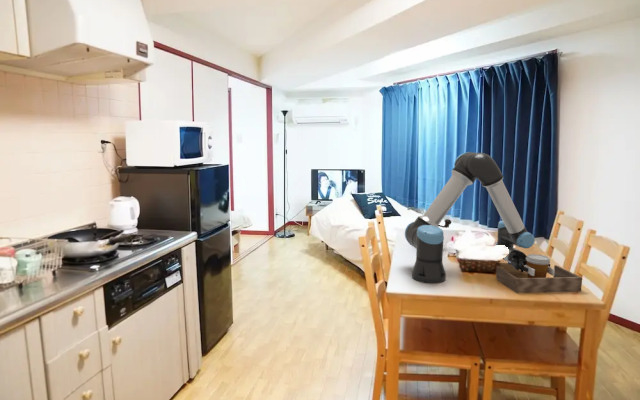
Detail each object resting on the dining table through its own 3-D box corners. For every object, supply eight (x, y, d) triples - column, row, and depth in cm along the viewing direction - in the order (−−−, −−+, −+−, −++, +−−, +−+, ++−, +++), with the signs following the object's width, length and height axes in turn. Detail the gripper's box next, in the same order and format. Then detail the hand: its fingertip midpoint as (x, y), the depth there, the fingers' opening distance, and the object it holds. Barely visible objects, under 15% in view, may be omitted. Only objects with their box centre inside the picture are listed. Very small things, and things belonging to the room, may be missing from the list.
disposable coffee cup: (518, 281, 181) (520, 255, 180) (534, 278, 185) (536, 253, 183) (537, 288, 173) (540, 261, 171) (553, 285, 177) (555, 258, 175)
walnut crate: (515, 293, 169) (516, 279, 168) (496, 279, 186) (496, 266, 185) (580, 291, 171) (582, 277, 170) (555, 277, 188) (556, 265, 187)
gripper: (535, 264, 197) (566, 280, 174) (493, 265, 196) (519, 281, 173) (536, 249, 196) (568, 263, 173) (494, 249, 195) (520, 264, 172)
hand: (543, 272), depth 173 cm, fingers closed on disposable coffee cup, 8 cm apart
